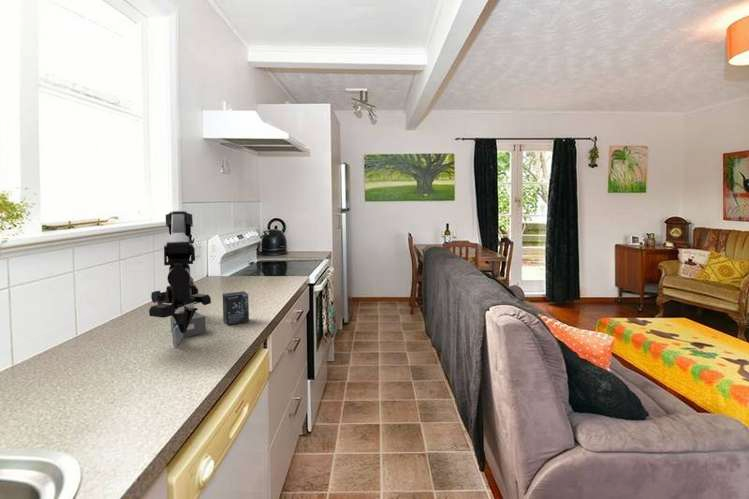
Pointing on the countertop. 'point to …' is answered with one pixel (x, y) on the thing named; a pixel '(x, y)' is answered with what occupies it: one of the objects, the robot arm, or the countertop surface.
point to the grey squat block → (193, 325)
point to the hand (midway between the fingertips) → (183, 332)
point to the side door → (176, 335)
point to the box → (235, 308)
